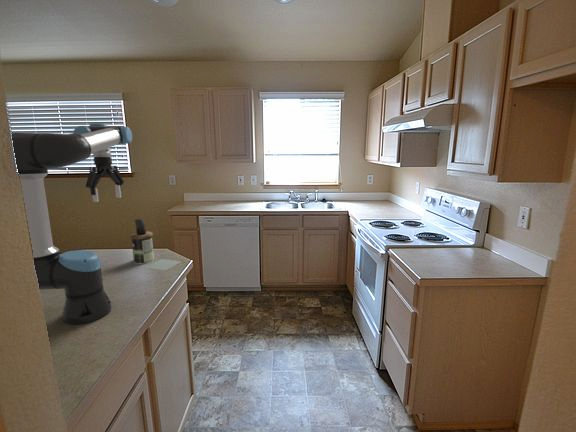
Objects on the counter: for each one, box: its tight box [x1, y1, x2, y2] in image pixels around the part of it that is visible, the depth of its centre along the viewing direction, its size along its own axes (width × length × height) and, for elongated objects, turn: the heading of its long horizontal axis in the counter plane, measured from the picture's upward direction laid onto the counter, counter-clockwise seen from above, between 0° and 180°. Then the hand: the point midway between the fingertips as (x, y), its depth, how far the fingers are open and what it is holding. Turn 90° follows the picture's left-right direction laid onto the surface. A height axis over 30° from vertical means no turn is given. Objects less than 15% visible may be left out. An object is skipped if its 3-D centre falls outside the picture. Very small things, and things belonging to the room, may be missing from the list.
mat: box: [144, 258, 182, 271], centre depth 162 cm, size 13×13×1 cm
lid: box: [129, 218, 154, 239], centre depth 164 cm, size 11×11×9 cm
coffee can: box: [130, 236, 155, 265], centre depth 166 cm, size 10×10×14 cm
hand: (107, 199), depth 155 cm, fingers open, 13 cm apart
